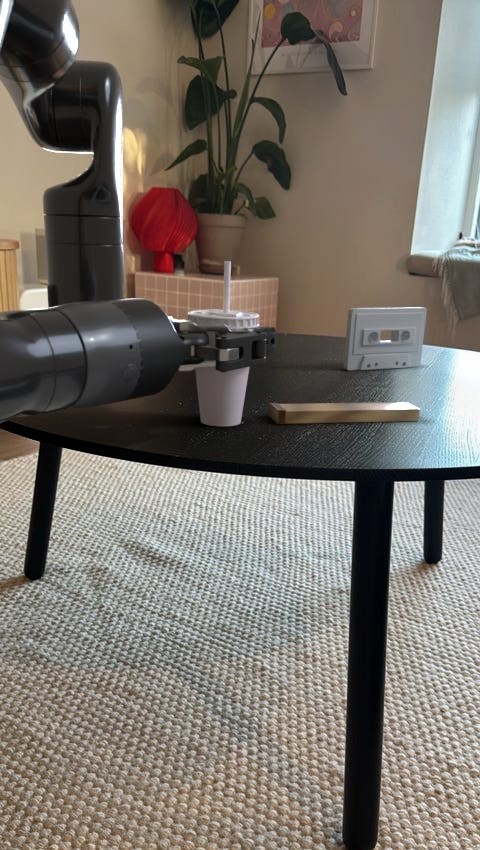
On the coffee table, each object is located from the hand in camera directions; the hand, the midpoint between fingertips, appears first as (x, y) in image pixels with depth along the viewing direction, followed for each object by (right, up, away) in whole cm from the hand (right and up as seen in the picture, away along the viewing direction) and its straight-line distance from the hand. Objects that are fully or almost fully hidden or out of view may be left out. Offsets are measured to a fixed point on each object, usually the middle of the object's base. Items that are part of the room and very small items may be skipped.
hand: (237, 334), depth 68 cm
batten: (+10, -7, +4) cm, 13 cm away
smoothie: (-2, -8, +1) cm, 8 cm away
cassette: (+19, +3, +31) cm, 37 cm away
